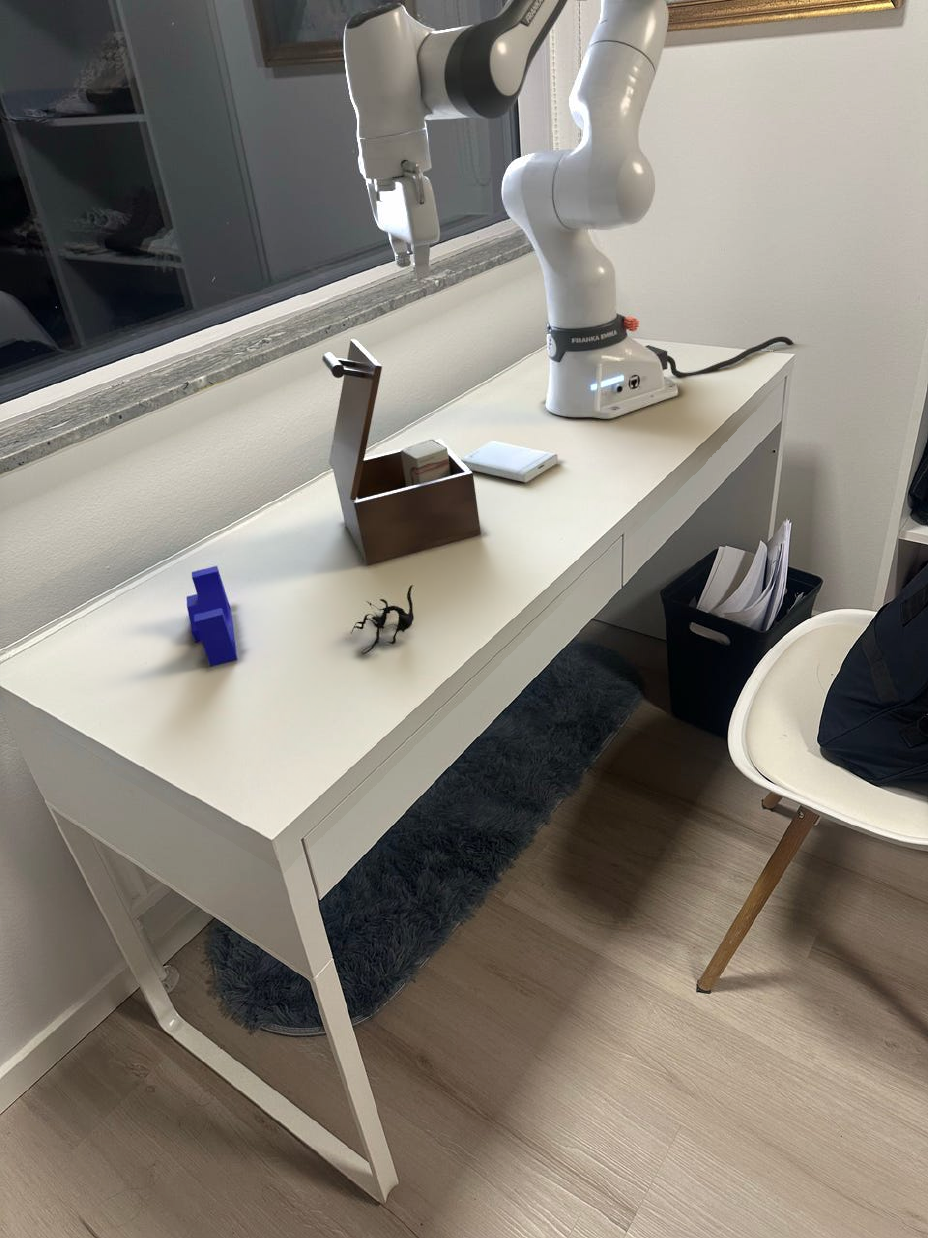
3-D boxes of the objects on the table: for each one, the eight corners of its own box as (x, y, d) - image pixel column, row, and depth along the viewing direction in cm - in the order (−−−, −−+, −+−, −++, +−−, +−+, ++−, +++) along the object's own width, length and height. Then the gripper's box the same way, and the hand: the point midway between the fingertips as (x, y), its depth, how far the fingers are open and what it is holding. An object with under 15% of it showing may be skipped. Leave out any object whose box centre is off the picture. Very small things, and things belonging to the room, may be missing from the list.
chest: (449, 496, 128) (441, 438, 123) (481, 534, 117) (473, 472, 112) (345, 523, 125) (332, 466, 120) (367, 565, 113) (353, 503, 109)
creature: (348, 665, 97) (414, 650, 95) (327, 625, 94) (395, 610, 92) (365, 625, 104) (428, 610, 101) (347, 587, 101) (410, 571, 98)
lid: (356, 340, 113) (319, 333, 111) (382, 366, 102) (341, 359, 100) (334, 463, 120) (299, 458, 118) (356, 500, 109) (317, 496, 107)
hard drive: (459, 459, 135) (523, 473, 127) (493, 439, 140) (557, 451, 132) (460, 469, 136) (524, 483, 128) (494, 449, 140) (558, 462, 133)
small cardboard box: (425, 529, 118) (414, 458, 113) (410, 518, 121) (397, 449, 116) (458, 516, 120) (448, 446, 115) (442, 506, 123) (431, 437, 118)
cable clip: (193, 617, 108) (178, 575, 105) (230, 608, 109) (216, 565, 106) (196, 670, 98) (180, 625, 95) (237, 659, 99) (222, 614, 96)
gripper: (443, 158, 106) (458, 279, 113) (399, 150, 122) (415, 256, 130) (392, 167, 104) (411, 289, 112) (355, 158, 121) (373, 264, 128)
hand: (413, 271), depth 121 cm, fingers open, 8 cm apart
